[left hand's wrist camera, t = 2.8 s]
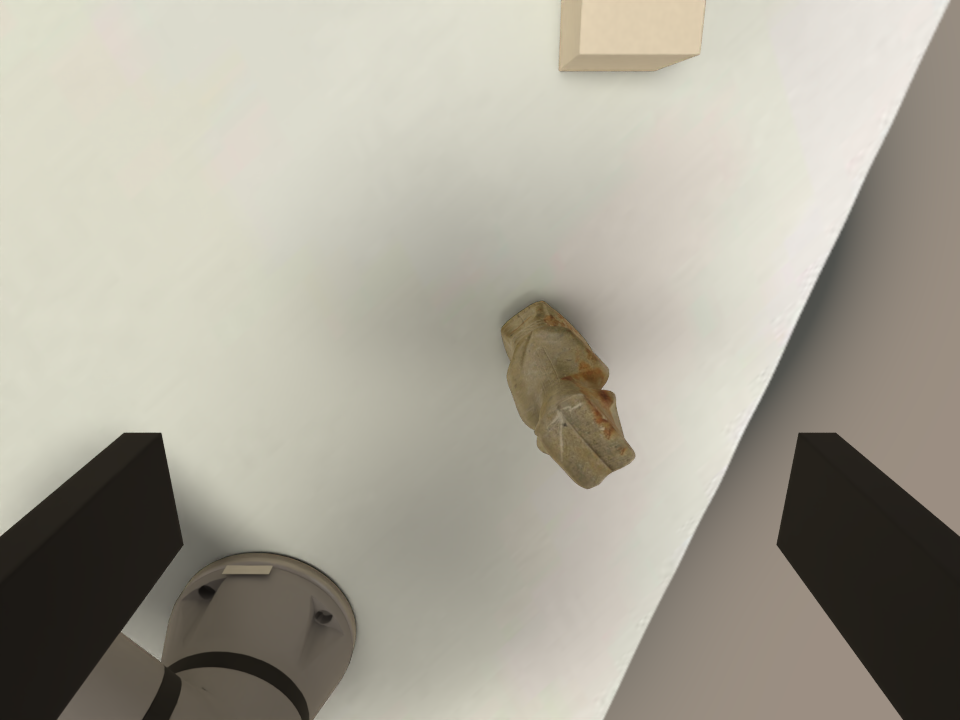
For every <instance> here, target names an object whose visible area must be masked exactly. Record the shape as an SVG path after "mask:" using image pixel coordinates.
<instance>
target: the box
mask: <svg viewBox="0 0 960 720" xmlns="http://www.w3.org/2000/svg"><path fill="white" fill-rule="evenodd" d="M705 5H706V0H561V25H560V50H559V71H656V70H659V69H662V68H664V67H667V66H670V65H673V64H675V63H678V62H681V61H684V60H686V59H689V58H692V57H695V56H697V55H700V50H701V41H702V32H703V23H704V14H705Z"/></svg>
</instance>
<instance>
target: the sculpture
mask: <svg viewBox="0 0 960 720" xmlns="http://www.w3.org/2000/svg"><path fill="white" fill-rule="evenodd" d="M501 335H502V339H503V343H504V346H505V349H506V352H507V355H508V357H509V359H510V361H511V362H510V365H509V368H508V372H507V381H508V385H509V388H510V390H511V393H512V395H513V398H514V401H515V404H516V407H517V410H518V412H519V414H520V417H521V419H522V420H523V422H524V423H525V424H526V425H527V426H529V427H530V428H531V429H533V430H535V431H534V432H535V434H536V435H537V446H538V448H539V449H540V450H541V451H542V452H543V453H546V454H548V455H550V456H551V457H552V458H553V459H554V460H555V462H556V463H557V464H558V465H559V466H560V467H561V468H562V469H563V470H564V471H565V472H566V473H567V474H568V476H569V477H570V478H571V479H572V480H573V481H574V482H575V483H577V484H578V485H579V486H581V487H583V488H585V489H590V488H592V487H595V486H597V485H599V484H600V483H601V482H602V481H603V480H604V478H605V477H606V476H607V475H609V474H610V473H612V472H614V471H616V470H618V469H621V468H622V467H624V466H626V465H628V464H630V463H631V462H632V461H633V460H634V458H635V453H634V451H633V449H632V448H631V447H630V445H629V444H628V443H627V441H626V440H625V438H624V435H623V431H622V427H621V424H620V420H619V416H618V413H617V408H616V397H615V394H614V393H613V392H611V391H607V390H601V389H602V387H603V386H604V385H605V383H606V382H607V380H608V377H609V369H608V367H607V366H606V365H605V364H604V363H603V362H602V361H601V360H600V359H599V358H598V357H597V356H596V355H595V354H594V353H593V351H592V350H591V348H590V346H589V345H588V343H587V342H586V341H585V339H584V338H583V337H582V336H581V335H580V333H579V332H578V331H577V330H576V329H575V328H574V327H573V326H572V325H571V324H570V323H569V322H568V321H567V320H566V319H565V318H564V317H563V316H562V315H561V314H559V313H558V312H557V311H556V310H554V309H553V308H552V307H550V306H549V305H548V304H547V303H546V302H544V301H539V302H535V303H533V304H531V305H530V306H528V307H526V308H525V309H523V310H522V311H520V312H519V313H518V314H516V315H515V316H513V317H512V318H511V319H510V320H509V321H507V322H506V323H505V324H504V326H503V327H502V328H501Z"/></svg>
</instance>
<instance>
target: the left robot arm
mask: <svg viewBox="0 0 960 720" xmlns="http://www.w3.org/2000/svg"><path fill="white" fill-rule="evenodd" d="M182 546H183V540H182V535H181V530H180V525H179V520H178V515H177V510H176V505H175V499H174V494H173V489H172V484H171V479H170V474H169V469H168V464H167V459H166V454H165V449H164V444H163V439H162V434H161V433H123V434H122V435H121V436H120V437H118V438H117V439H116V440H115V441H114V442H113V443H111V444H110V445H109V446H108V447H107V448H105V449H104V450H103V451H102V452H101V453H99V454H98V455H97V456H96V457H95V458H93V459H92V460H91V461H90V462H89V463H87V464H86V465H85V466H84V467H83V468H82V469H80V470H79V471H78V472H77V473H76V474H74V475H73V476H72V477H71V478H70V479H68V480H67V481H66V482H65V483H64V484H62V485H61V486H60V487H59V488H58V489H56V490H55V491H54V492H53V493H52V494H50V495H49V496H48V497H47V498H46V499H45V500H43V501H42V502H41V503H40V504H39V505H37V506H36V507H35V508H34V509H33V510H31V511H30V512H29V513H28V514H27V515H25V516H24V517H23V518H22V519H21V520H19V521H18V522H17V523H16V524H15V525H14V526H12V527H11V528H10V529H9V530H8V531H6V532H5V533H4V534H3V535H2V536H0V720H313V719H314V718H315V716H316V715H317V713H318V712H319V710H320V709H321V708H322V706H323V705H324V703H325V702H326V701H327V699H328V698H329V696H330V695H331V693H332V692H333V691H334V689H335V688H336V686H337V685H338V683H339V682H340V680H341V679H342V677H343V675H344V673H345V671H346V670H347V667H348V665H349V663H350V660H351V656H352V652H353V648H354V644H355V639H356V624H355V618H354V615H353V612H352V609H351V607H350V605H349V603H348V601H347V599H346V597H345V596H344V595H343V593H342V592H341V591H340V589H339V588H338V587H337V586H336V585H335V584H334V583H333V582H332V581H331V580H330V579H329V578H327V577H326V576H325V575H323V574H322V573H321V572H319V571H318V570H316V569H314V568H313V567H311V566H309V565H307V564H305V563H302V562H300V561H298V560H295V559H292V558H289V557H285V556H281V555H275V554H268V553H244V554H238V555H233V556H229V557H225V558H223V559H220V560H217V561H215V562H213V563H211V564H209V565H208V566H206V567H204V568H203V569H202V570H200V571H199V572H198V573H197V574H196V575H195V576H194V577H193V578H192V579H191V580H190V581H189V582H188V584H187V585H186V587H185V588H184V590H183V592H182V593H181V595H180V596H179V598H178V599H177V601H176V603H175V605H174V607H173V610H172V613H171V616H170V619H169V622H168V627H167V633H166V638H165V643H164V648H163V654H162V659H161V662H160V661H159V660H157V659H156V658H155V657H153V656H152V655H151V654H149V653H148V652H147V651H145V650H144V649H143V648H141V647H140V646H139V645H137V644H136V643H135V642H133V641H132V640H131V639H129V638H128V637H127V636H125V635H124V634H123V633H121V630H122V629H123V628H124V626H125V625H126V623H127V622H128V621H129V619H130V618H131V617H132V615H133V614H134V612H135V611H136V610H137V608H138V607H139V606H140V604H141V603H142V601H143V600H144V599H145V597H146V596H147V594H148V593H149V592H150V590H151V589H152V588H153V586H154V585H155V583H156V582H157V581H158V579H159V578H160V576H161V575H162V574H163V572H164V571H165V570H166V568H167V567H168V565H169V564H170V563H171V561H172V560H173V558H174V557H175V556H176V554H177V553H178V552H179V550H180V549H181V547H182ZM777 546H778V547H779V549H780V550H781V552H782V553H783V554H784V556H785V557H786V558H787V560H788V561H789V563H790V564H791V565H792V567H793V568H794V570H795V571H796V572H797V574H798V575H799V576H800V578H801V579H802V581H803V582H804V583H805V585H806V586H807V588H808V589H809V590H810V592H811V593H812V594H813V596H814V597H815V599H816V600H817V601H818V603H819V604H820V605H821V607H822V608H823V610H824V611H825V612H826V614H827V615H828V617H829V618H830V619H831V621H832V622H833V623H834V625H835V626H836V628H837V629H838V630H839V632H840V633H841V635H842V636H843V637H844V639H845V640H846V641H847V643H848V644H849V646H850V647H851V648H852V650H853V651H854V653H855V654H856V655H857V657H858V658H859V659H860V661H861V662H862V664H863V665H864V666H865V668H866V669H867V670H868V672H869V673H870V675H871V676H872V677H873V679H874V680H875V682H876V683H877V684H878V686H879V687H880V689H881V690H882V691H883V693H884V694H885V695H886V697H887V698H888V700H889V701H890V702H891V704H892V705H893V707H894V708H895V709H896V711H897V712H898V713H899V715H900V716H901V718H902V719H903V720H960V536H958V535H957V534H956V533H955V532H954V531H952V530H951V529H950V528H949V527H948V526H946V525H945V524H944V523H943V522H942V521H941V520H939V519H938V518H937V517H936V516H934V515H933V514H932V513H931V512H930V511H929V510H927V509H926V508H925V507H924V506H923V505H921V504H920V503H919V502H918V501H917V500H915V499H914V498H913V497H912V496H911V495H910V494H908V493H907V492H906V491H905V490H904V489H902V488H901V487H900V486H899V485H898V484H896V483H895V482H894V481H893V480H892V479H890V478H889V477H888V476H887V475H886V474H884V473H883V472H882V471H881V470H880V469H878V468H877V467H876V466H875V465H874V464H872V463H871V462H870V461H869V460H868V459H866V458H865V457H864V456H863V455H862V454H861V453H859V452H858V451H857V450H856V449H855V448H853V447H852V446H851V445H850V444H849V443H847V442H846V441H845V440H844V439H843V438H841V437H840V436H839V435H838V434H837V433H799V434H798V439H797V444H796V449H795V454H794V459H793V464H792V469H791V474H790V479H789V484H788V489H787V494H786V500H785V505H784V510H783V515H782V520H781V525H780V530H779V535H778V540H777Z"/></svg>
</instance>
